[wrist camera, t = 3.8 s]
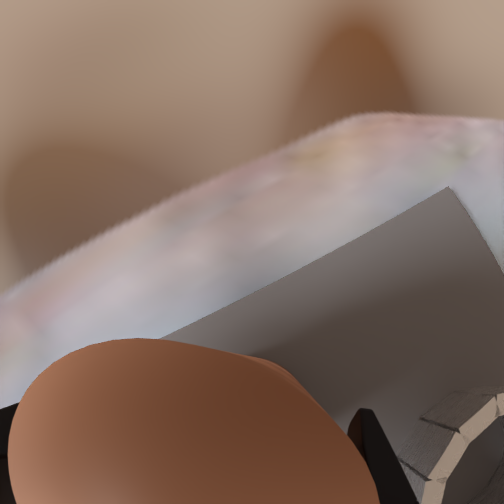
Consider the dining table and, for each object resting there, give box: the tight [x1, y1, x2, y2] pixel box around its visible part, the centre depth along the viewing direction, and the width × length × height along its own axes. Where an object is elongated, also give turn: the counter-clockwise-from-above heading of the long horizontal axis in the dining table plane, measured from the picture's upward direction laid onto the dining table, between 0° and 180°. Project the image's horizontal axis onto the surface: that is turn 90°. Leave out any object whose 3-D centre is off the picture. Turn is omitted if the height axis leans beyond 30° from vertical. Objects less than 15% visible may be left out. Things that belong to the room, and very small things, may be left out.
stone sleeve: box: [396, 386, 504, 504], centre depth 9 cm, size 8×8×4 cm
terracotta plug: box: [8, 338, 380, 504], centre depth 8 cm, size 5×5×12 cm
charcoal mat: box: [160, 186, 504, 504], centre depth 12 cm, size 22×24×1 cm
